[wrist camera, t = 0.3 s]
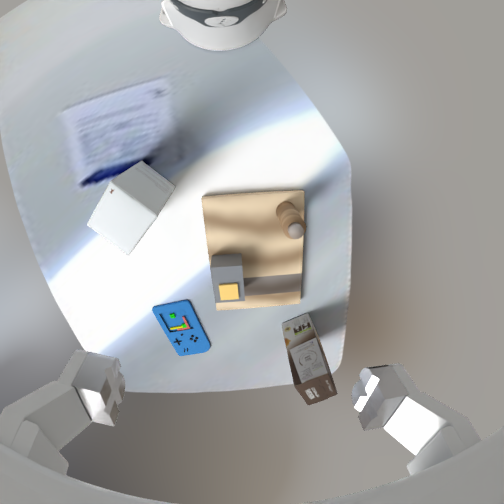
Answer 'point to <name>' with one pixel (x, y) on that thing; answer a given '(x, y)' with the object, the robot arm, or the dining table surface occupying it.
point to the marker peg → (290, 220)
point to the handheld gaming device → (182, 327)
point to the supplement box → (130, 206)
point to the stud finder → (227, 278)
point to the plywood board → (257, 245)
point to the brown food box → (307, 360)
